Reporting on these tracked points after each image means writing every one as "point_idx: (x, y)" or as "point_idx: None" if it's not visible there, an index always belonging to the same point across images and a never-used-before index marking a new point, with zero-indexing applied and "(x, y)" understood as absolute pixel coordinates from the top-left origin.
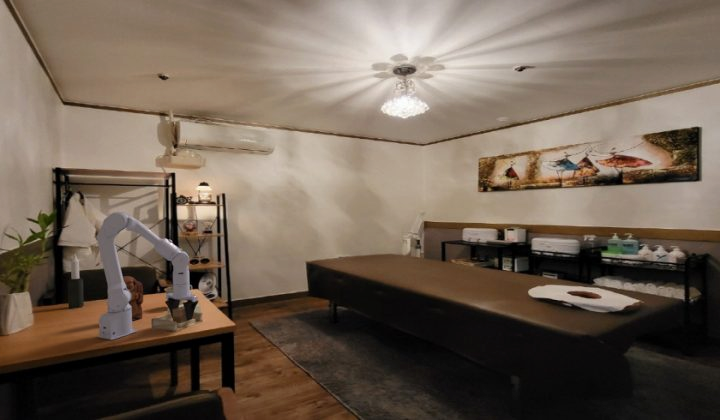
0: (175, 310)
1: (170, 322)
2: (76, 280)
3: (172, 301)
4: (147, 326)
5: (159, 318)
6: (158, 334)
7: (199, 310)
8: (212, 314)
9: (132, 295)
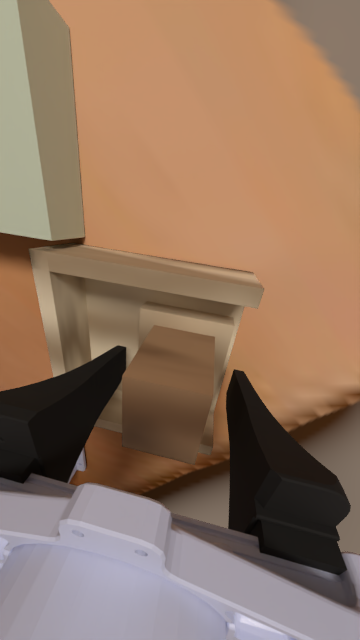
0: (149, 446)
1: None
2: None
3: (57, 474)
4: (50, 369)
5: None
6: None
7: (56, 30)
8: (227, 60)
9: None
